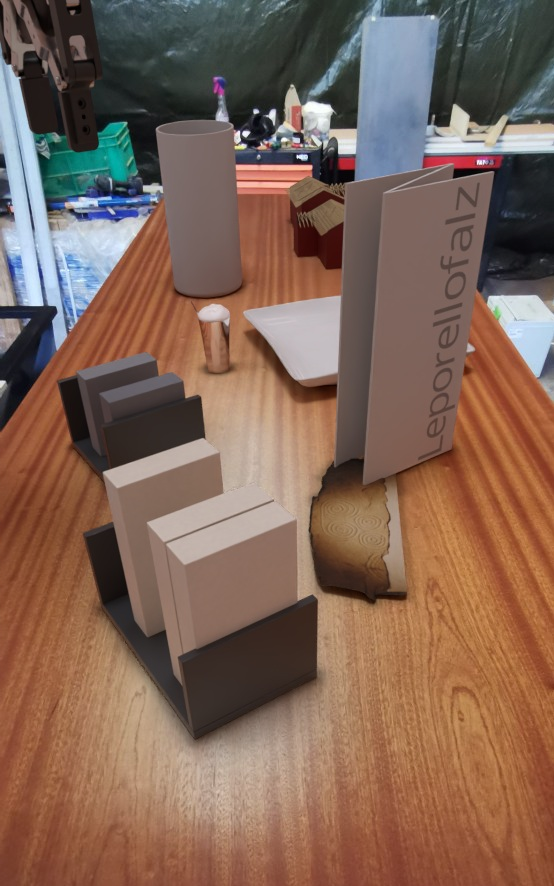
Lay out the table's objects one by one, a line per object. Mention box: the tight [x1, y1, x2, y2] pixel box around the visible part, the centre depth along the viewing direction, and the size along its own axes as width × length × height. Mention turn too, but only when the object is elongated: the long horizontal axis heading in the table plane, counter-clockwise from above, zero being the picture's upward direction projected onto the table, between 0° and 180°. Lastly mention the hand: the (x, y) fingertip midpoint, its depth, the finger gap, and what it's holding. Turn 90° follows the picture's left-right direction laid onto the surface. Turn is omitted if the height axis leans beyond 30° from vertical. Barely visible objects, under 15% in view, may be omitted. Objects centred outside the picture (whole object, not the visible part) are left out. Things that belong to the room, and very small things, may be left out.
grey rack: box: [56, 351, 207, 483], centre depth 88 cm, size 12×14×11 cm
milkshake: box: [190, 300, 231, 374], centre depth 106 cm, size 4×5×10 cm
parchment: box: [308, 458, 408, 601], centre depth 79 cm, size 25×10×1 cm, turn 176°
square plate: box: [242, 295, 476, 388], centre depth 112 cm, size 27×27×4 cm
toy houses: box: [284, 175, 346, 270], centre depth 146 cm, size 45×20×10 cm, turn 9°
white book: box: [103, 438, 225, 637], centre depth 63 cm, size 9×3×16 cm, turn 123°
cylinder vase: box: [155, 119, 243, 299], centre depth 127 cm, size 12×12×25 cm
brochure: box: [333, 163, 495, 485], centre depth 79 cm, size 14×6×30 cm, turn 126°
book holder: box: [82, 481, 319, 740], centre depth 62 cm, size 12×19×17 cm, turn 33°
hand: (64, 141), depth 57 cm, fingers open, 8 cm apart
